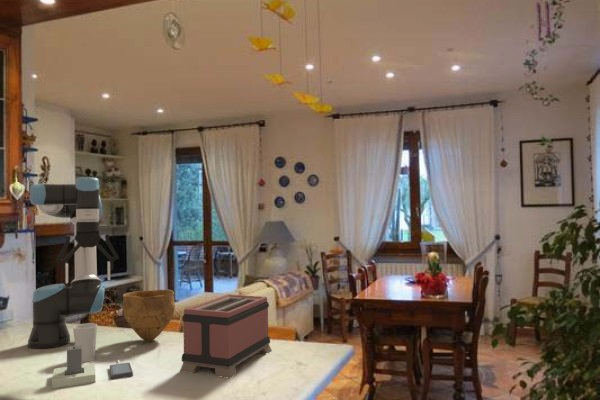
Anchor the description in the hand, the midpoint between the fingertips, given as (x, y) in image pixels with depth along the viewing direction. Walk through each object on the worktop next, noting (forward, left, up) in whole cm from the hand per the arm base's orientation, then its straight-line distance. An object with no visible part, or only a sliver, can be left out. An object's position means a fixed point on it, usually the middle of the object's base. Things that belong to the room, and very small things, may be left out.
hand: (88, 281), depth 171 cm
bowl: (-19, +23, -29) cm, 42 cm away
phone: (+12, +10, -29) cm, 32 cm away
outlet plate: (+16, -4, -29) cm, 33 cm away
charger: (+16, -4, -29) cm, 33 cm away
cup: (-5, -1, -29) cm, 29 cm away
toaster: (+18, +46, -29) cm, 58 cm away
